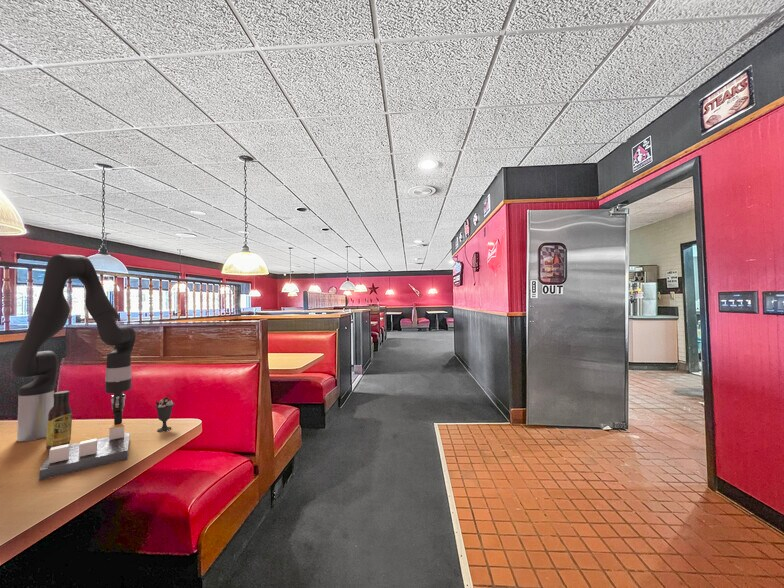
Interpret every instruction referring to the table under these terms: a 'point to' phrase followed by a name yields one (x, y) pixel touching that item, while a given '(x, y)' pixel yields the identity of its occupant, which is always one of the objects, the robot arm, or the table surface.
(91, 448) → the handle
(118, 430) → the block
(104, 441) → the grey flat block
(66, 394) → the sauce bottle
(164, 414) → the sundae
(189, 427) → the table surface
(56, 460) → the right breaker handle
